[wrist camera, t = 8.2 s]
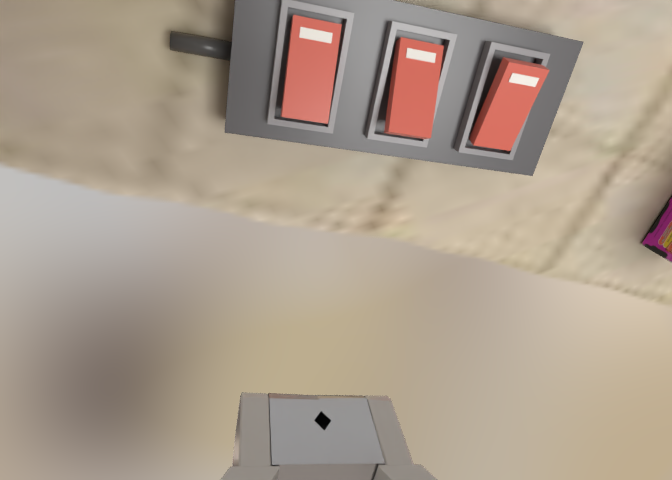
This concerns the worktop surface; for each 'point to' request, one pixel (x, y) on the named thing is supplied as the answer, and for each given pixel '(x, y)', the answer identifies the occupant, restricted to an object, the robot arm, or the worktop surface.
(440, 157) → the rocker switch panel
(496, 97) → the rocker
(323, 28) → the rocker
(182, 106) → the worktop surface
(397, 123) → the rocker
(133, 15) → the worktop surface
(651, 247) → the candy bar box
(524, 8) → the worktop surface
